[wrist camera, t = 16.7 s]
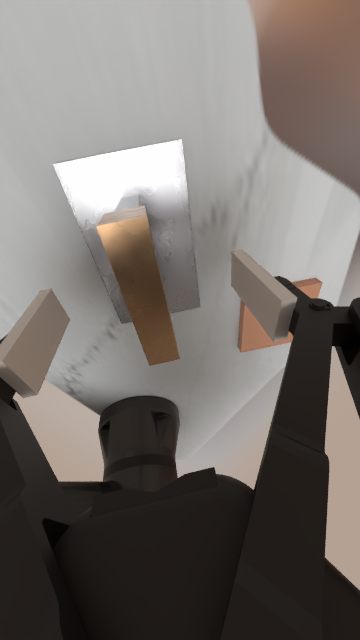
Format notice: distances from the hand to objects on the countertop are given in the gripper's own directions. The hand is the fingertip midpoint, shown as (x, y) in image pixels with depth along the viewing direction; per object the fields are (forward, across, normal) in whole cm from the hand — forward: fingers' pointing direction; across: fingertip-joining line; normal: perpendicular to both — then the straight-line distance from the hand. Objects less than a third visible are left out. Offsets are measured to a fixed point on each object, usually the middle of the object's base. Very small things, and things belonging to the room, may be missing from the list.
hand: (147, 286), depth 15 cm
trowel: (+8, 0, 0) cm, 8 cm away
